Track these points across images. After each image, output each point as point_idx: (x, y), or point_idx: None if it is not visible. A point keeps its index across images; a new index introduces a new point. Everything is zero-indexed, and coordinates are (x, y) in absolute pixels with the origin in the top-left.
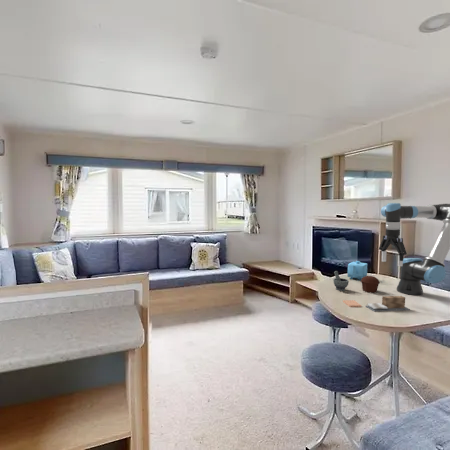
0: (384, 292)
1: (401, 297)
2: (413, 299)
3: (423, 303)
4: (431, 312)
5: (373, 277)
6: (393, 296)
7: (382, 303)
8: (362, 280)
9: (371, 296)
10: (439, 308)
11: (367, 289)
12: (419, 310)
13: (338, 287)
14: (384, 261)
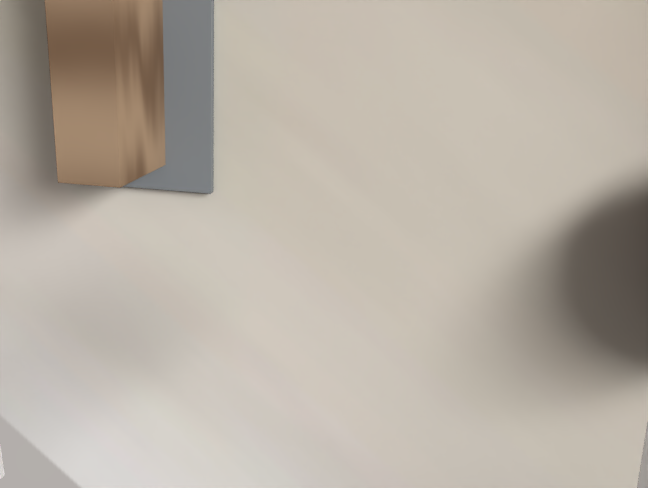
0: (643, 361)
1: (57, 133)
2: (358, 458)
3: (239, 450)
4: (17, 322)
5: None
6: (98, 58)
7: None
8: None
9: (551, 93)
10: (108, 466)
11: None
12: (66, 262)
13: None
14: (641, 471)
